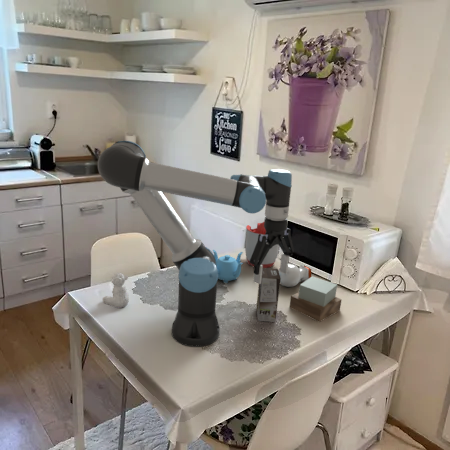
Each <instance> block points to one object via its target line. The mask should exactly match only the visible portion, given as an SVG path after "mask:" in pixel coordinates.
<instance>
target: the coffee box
mask: <svg viewBox="0 0 450 450" xmlns="http://www.w3.org/2000/svg"><path fill="white" fill-rule="evenodd" d="M280 280H281V278H280V275H279V268H277V267H269V268H262V280H261V284H258V289H257V298H256V300H257V301H256V316H257V321H260V322H271V323H272V322H273V323H275V322H276V320H277V313H278V302H279V297H280V296H279V294H280V287H281V283H280Z"/></svg>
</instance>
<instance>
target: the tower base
mask: <svg viewBox="0 0 450 450" xmlns="http://www.w3.org/2000/svg"><path fill="white" fill-rule="evenodd" d="M298 295H299V291H298V292H297V293H295V294H292V295H290V300H289V308H290V309H293V310H295V311H296V312H298V313H300V314H303V315H304V316H307V317H308V318H311V319H313V320H314V321H316V322H319V323H320V322H322V321H323V319H324V320H325V319H327V318H329V317H331V316H332V315H335V314H337V313H338V312H340V311H341V306H342V301H343V300H342V299H341V298H339V297H337V296H335V298H334V299H333V300H331V301H330V302H329V303H328V304H327V305H326V306H324V307H323V306H320V305H318V304H315V303H312V302H309V301H307V300H304V299H301V298H298ZM334 313H335V314H334ZM321 320H322V321H321Z"/></svg>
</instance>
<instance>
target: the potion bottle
mask: <svg viewBox="0 0 450 450" xmlns="http://www.w3.org/2000/svg"><path fill="white" fill-rule="evenodd" d="M278 271H279V275H280V278H281V280H280V285H282V286H283V287H287V288H293V287H295V286H297V285H298V284H299V283H300V282H302V283H303V282H305V281H306V280H308V279H309V278H311V277H312V269H311V268H309V267H307V266H306V265H300V266H299V267H298V266H297V265H296V264H293V263H288V270H287V274H285V273H283V272H280V267H279V268H278Z"/></svg>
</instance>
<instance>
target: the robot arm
mask: <svg viewBox="0 0 450 450" xmlns="http://www.w3.org/2000/svg"><path fill="white" fill-rule="evenodd" d="M97 171H98V173H99V175H100V177H101V178H102V179H103V180H104V181H105V182H106V183H107V184H109V185H111V186H113V187H117V188H120V190H121V191H122V192H123V193H126V194H129V195H131V197H132V198H133V200H134V201H135V203H136V204H137V206H138V207H139V208H140V210H141V211H142V212H143V215H145V217H146V218H147V220H148V221H149V222H150V223H151V225H152V227H153V228H154V229H155V231H156V233H157V234H158V236H159V237H160V238H161V239H162V241H163V242H164V243H165V245H166V246H167V248H168V249H169V250H170V252H171V253H172V255H171V261H172V263H173V264H174V266H175V267H176V268H177V270H178V298H177V299H178V300H177V302H178V303H177V312H176V314H175V318H174V320H173V322H172V324H171V336H172V338H173V339H174V340H175V341H176V342H178V343H179V344H182V345H184V346H188V347H204V346H208V345H211V344H214V343H215V342H216V341H217V340H218V338H219V336H220V329H221V328H220V324H219V321H218V317H217V314H216V305H217V293H218V292H217V291H218V290H217V289H218V280H219V279H218V270H217V264H216V259H215V256H214V252H213V250H211V249H210V248H208V247H207V246H205V244H204V243H203V241H202V240H201V239H197V238H194V236H193V235H192V234H191V232H190V230H189V229H188V228H187V226H186V224H185V223H184V222H183V220H182V219H181V217H180V216H179V215H178V213H177V211H176V210H175V209H174V207H173V206H172V204H171V203H170V201H169V200H168V198H167V197H166V196H165V194H164V193H166V194H170V195H175V196H180V197H185V198H192V199H195V200H201V201H205V202H211V203H216V204H221V205H224V206H225V205H226V206H231V207H235V208H239V209H241V210H243V211H244V212H246V213H247V214H256V213H259V212H261V211H262V210H263V209H264V208H265V209H264V216H265V217H264V221H263V222H264V228H265V230H266V233H265V235H261V234H259V235H258V241H257V244H256V246H255V249H254V251H253V254H252V256H251V259H250V263H251V264H253V265H254V266H253V282H254V283H256V284H258V285H259V284H261V280H262V268H263V265H261V264H262V262H263V260H264V258H265V257H266V255H267V253H268V251H269V250H270V249H271V248H272V247H273V246H275V245H279V248H280V250H281V251H282V253H281V254H280V256H281V257H280V266H279V268H280V272H283V273H285V274H287V270H288V263H289V262H290V257H292V256H293V255H294V253H295V247H294V244H293V243H294V242H293V239H292V236H291V235H292V233H291V231H292V230H291V229H292V228H288V221H289V219H288V218H289V210H290V202H291V201H290V200H291V192H292V182H293V181H292V179H293V176H292V175H293V174H292V172H291V171H290V170H286V169H283V168H276V169H275V168H272V169H269V170H268V173H267V175H256V174H255V175H254V174H253V175H251V174H250V175H249V174H243V173H242V174H233V175H231V176H230V178H228V177H223V176H219V175H213V174H207V173H204V172H199V171H193V170H189V169H185V168H180V167H175V166H170V165H165V164H161V163H156V162H151V161H150V160H149V159H148V157H147V156H146V153H145V151H144V150H143V148H142V147H141V146H140V145H139V144H137V143H136V142H133V141H130V140H120V141H117V142H115V143H113V144H111V146H109V147H106V149H104V150H103V151H102V152H101V154H100V155H99V157H98V160H97ZM266 243H268V244H266ZM258 261H259V262H258Z"/></svg>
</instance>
